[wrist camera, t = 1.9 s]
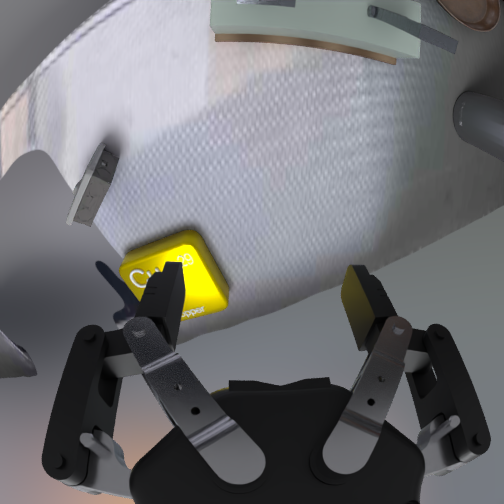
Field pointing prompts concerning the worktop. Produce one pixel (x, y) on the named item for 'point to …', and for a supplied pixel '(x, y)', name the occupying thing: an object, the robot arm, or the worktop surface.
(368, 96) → the worktop surface
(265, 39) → the brown rectangular board
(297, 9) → the block
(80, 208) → the electrical switch
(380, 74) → the worktop surface
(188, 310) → the element tile
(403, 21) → the right lever
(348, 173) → the worktop surface
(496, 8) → the plant saucer
